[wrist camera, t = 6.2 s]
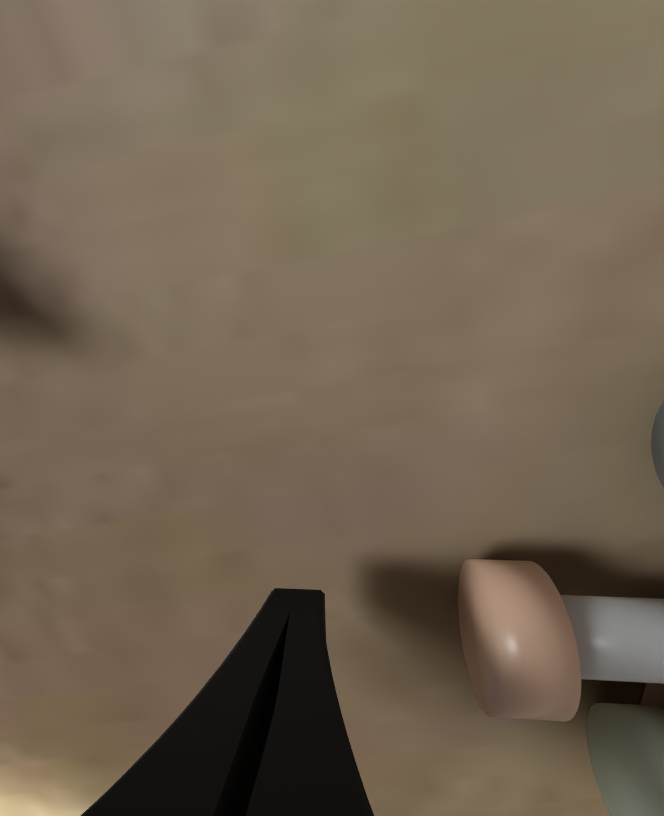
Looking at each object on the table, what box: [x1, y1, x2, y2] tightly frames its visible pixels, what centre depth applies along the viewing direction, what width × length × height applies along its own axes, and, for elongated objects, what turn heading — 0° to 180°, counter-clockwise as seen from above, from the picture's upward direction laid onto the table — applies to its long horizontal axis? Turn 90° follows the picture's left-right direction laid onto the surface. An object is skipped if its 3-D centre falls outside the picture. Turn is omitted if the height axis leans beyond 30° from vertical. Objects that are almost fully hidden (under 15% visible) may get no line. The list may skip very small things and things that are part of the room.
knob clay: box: [458, 559, 664, 722], centre depth 9 cm, size 7×3×3 cm, turn 91°
